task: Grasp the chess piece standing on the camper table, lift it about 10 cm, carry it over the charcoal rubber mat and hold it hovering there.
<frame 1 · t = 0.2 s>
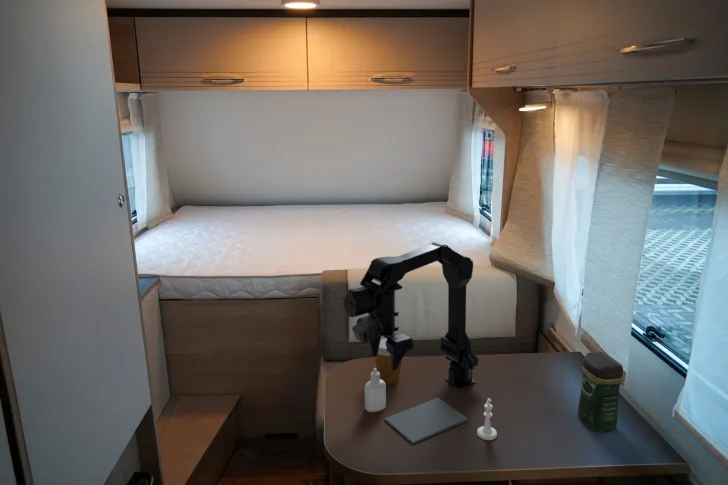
hand: (384, 362, 142), 15 cm above the table, fingers open, 9 cm apart
coffee jar: (596, 423, 140), on the table
disposable coffee cup: (388, 379, 163), on the table
slate mat: (426, 420, 142), on the table
eye dropper bottle: (375, 409, 148), on the table
chess piece: (486, 434, 136), on the table
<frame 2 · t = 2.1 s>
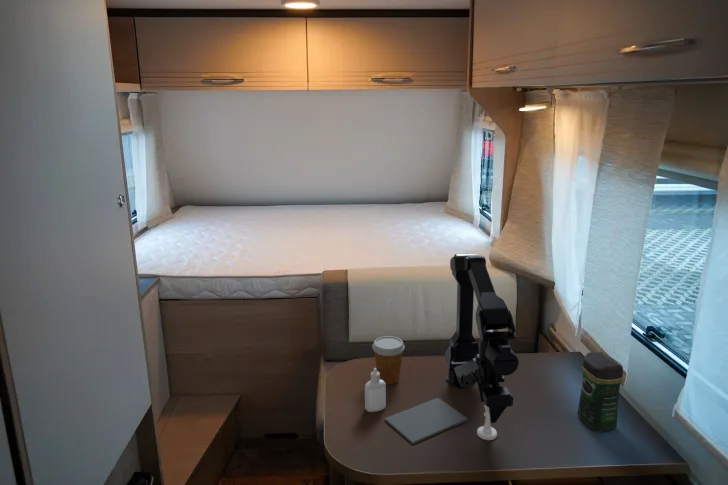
hand: (487, 411, 134), 6 cm above the table, fingers open, 9 cm apart
nothing on the table moved.
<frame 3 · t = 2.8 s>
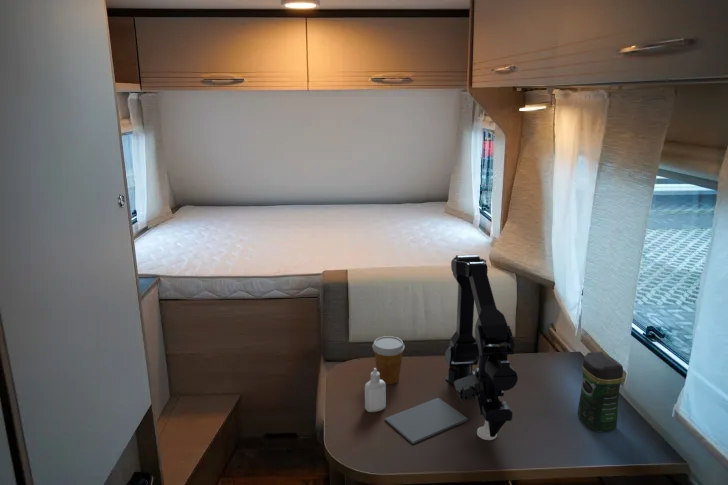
hand: (487, 425, 135), 3 cm above the table, fingers open, 9 cm apart
nothing on the table moved.
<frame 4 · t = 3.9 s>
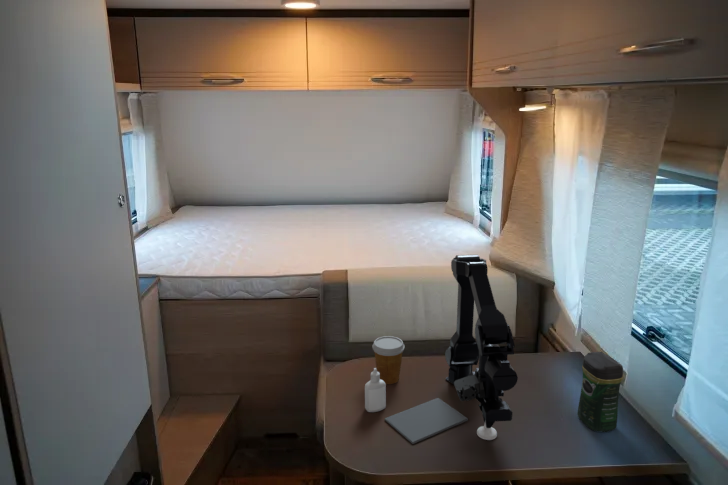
hand: (487, 425, 135), 3 cm above the table, fingers closed on chess piece
chess piece: (486, 434, 136), on the table, touching gripper
everything else where it was.
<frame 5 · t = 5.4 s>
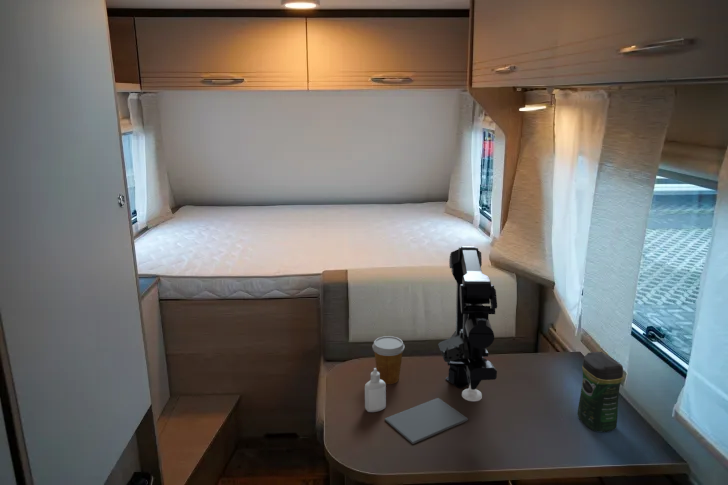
hand: (472, 386, 134), 12 cm above the table, fingers closed on chess piece
chess piece: (471, 396, 135), point 9 cm above the table, touching gripper
everything else where it was.
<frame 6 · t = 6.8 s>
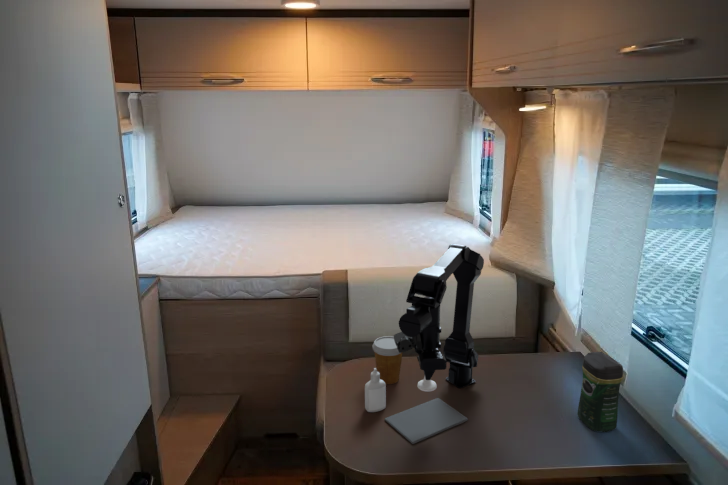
hand: (427, 377, 139), 12 cm above the table, fingers closed on chess piece
chess piece: (426, 387, 139), point 10 cm above the table, touching gripper
everything else where it was.
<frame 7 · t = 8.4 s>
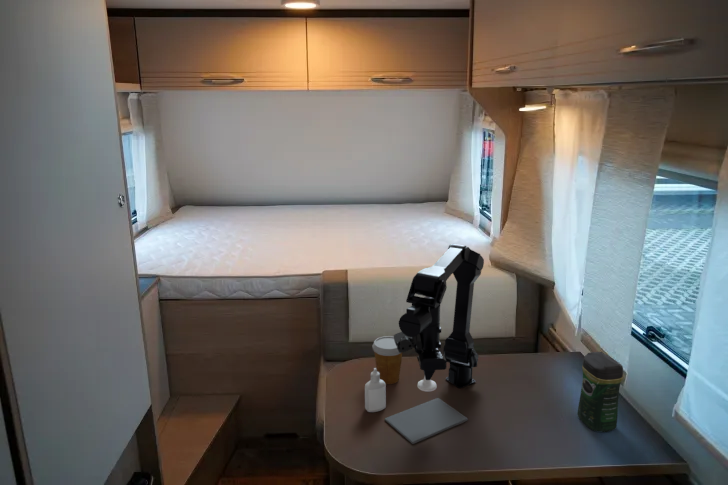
hand: (427, 377, 139), 12 cm above the table, fingers closed on chess piece
chess piece: (426, 387, 139), point 10 cm above the table, touching gripper
everything else where it was.
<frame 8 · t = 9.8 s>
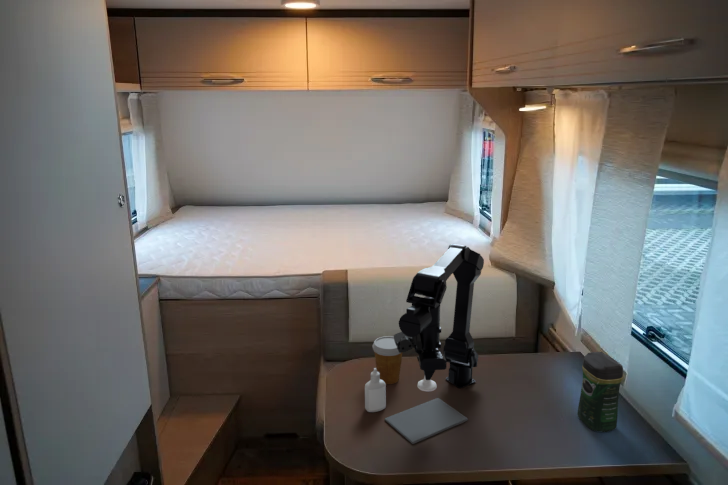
hand: (427, 377, 139), 12 cm above the table, fingers closed on chess piece
chess piece: (426, 387, 139), point 10 cm above the table, touching gripper
everything else where it was.
at the end: the gripper is holding chess piece; chess piece point 9.7 cm above the table; chess piece 0.1 cm from the slate mat (horizontally) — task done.
